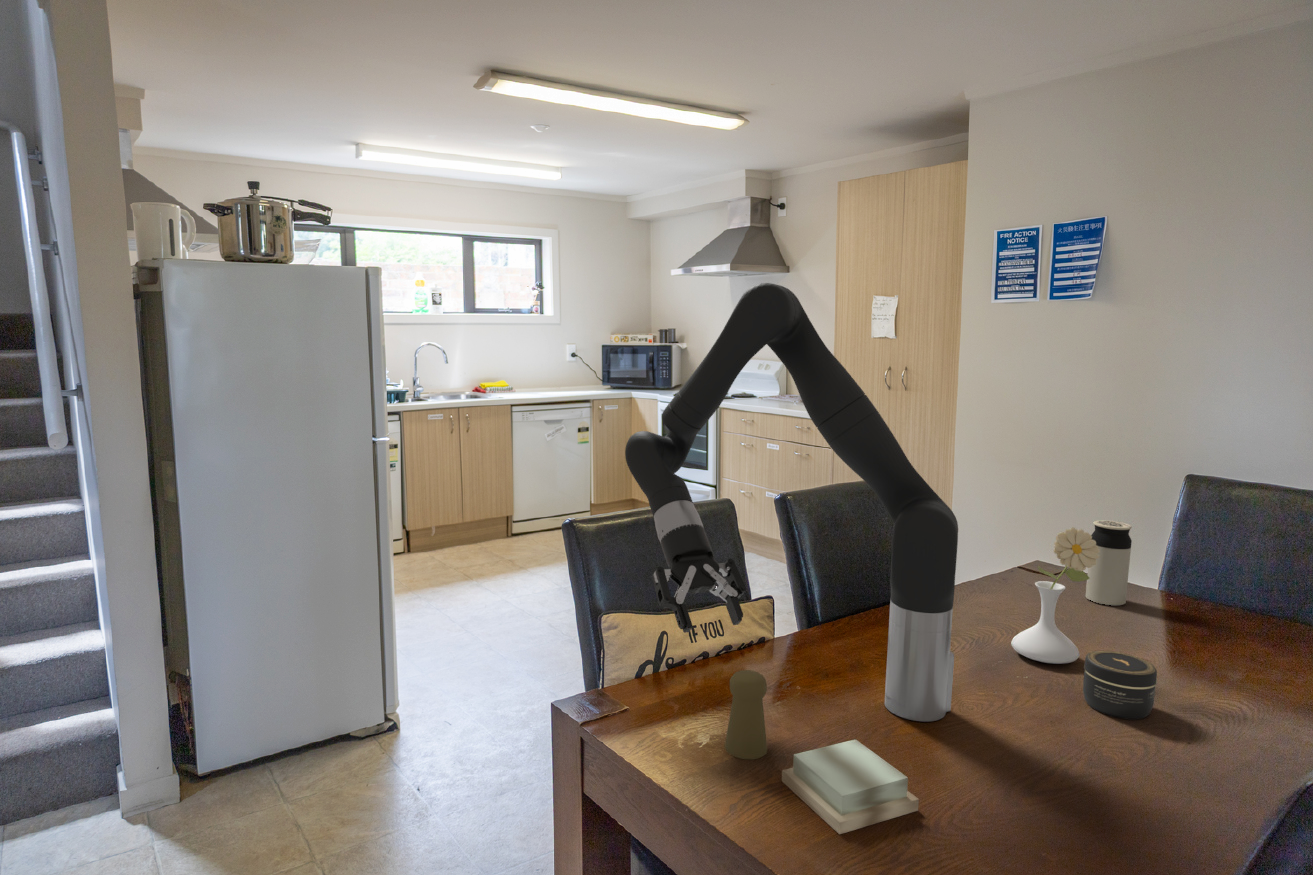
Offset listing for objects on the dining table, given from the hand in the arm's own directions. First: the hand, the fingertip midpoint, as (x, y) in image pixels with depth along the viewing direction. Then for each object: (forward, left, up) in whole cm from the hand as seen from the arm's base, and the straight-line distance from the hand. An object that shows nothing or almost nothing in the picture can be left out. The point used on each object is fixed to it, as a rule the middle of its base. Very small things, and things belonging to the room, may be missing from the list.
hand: (713, 626), depth 117 cm
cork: (0, +10, -14) cm, 18 cm away
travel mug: (-110, -14, -14) cm, 112 cm away
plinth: (-6, +25, -14) cm, 30 cm away
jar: (-62, +22, -14) cm, 67 cm away
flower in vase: (-69, +4, -14) cm, 71 cm away
